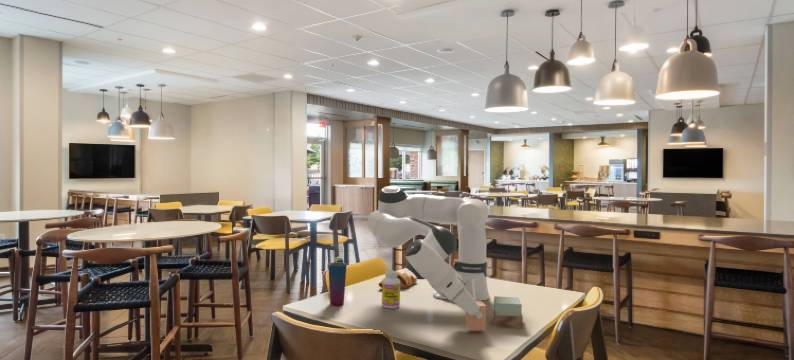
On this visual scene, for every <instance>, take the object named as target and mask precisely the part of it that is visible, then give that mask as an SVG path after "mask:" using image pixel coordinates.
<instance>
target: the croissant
mask: <svg viewBox="0 0 794 360" xmlns="http://www.w3.org/2000/svg"><path fill="white" fill-rule="evenodd" d="M397 272H398V276H397V278H398V279H399V280H400V290H401V289H405V288H406V289H407V288H408V287H410V286H412V285H413V284H416V283H417V282H418V279H417V277H416V276H415V275H414V276H413V275H412V274H411V275H410V274H408V273H406V272H403V273H401V272H400V271H397ZM382 281H383V279H382V280H381V281H380V282H378V286H379V287H380V288H381V289H382Z"/></svg>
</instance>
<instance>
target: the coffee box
mask: <svg viewBox="0 0 794 360" xmlns="http://www.w3.org/2000/svg"><path fill="white" fill-rule="evenodd" d="M334 262H342V263H344V259H343V258H342V257H341V256H335V257H334Z"/></svg>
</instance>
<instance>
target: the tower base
mask: <svg viewBox="0 0 794 360" xmlns="http://www.w3.org/2000/svg"><path fill="white" fill-rule="evenodd" d="M523 320H524V318H523V314H522V315H521V317H518V316H500V315H496V313H495V310H494V309H493V327H496V328H508V329H518V330H519V329H521V330H523V327H524V325H523Z"/></svg>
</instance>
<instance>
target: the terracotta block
mask: <svg viewBox="0 0 794 360" xmlns="http://www.w3.org/2000/svg"><path fill="white" fill-rule="evenodd" d="M476 303H477V304H478V305H479V307H480V309H479V311H480V312H481V313H482V314H483V316H482V317H481V318H480V319H479V318H478V317H477V316H476V315H473V316H471V315H469V314H468V313H467V312H465V326H466V328H468V330H469V331H486V330H487V329H486V328H487V305H486V304H485V303H484V302H483V300H482V301H476Z"/></svg>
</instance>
